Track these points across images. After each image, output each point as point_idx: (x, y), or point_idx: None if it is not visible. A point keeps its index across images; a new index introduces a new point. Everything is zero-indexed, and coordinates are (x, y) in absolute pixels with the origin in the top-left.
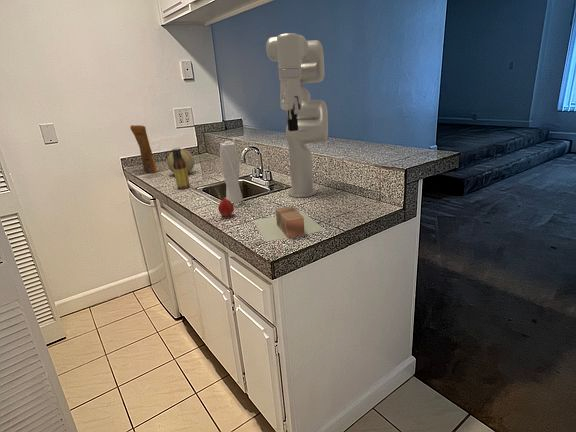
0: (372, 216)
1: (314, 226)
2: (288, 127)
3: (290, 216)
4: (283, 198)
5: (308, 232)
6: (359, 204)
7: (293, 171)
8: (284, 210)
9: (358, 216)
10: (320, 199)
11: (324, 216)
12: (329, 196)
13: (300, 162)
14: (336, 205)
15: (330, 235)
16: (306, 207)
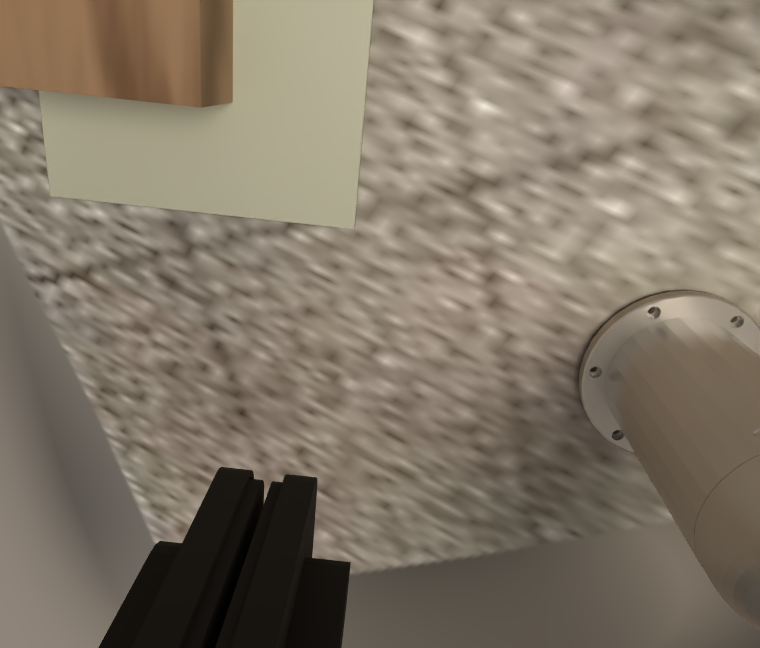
0: (146, 466)
1: (118, 177)
2: (273, 515)
3: (13, 10)
4: (670, 234)
5: (54, 112)
6: None
7: (736, 392)
8: (138, 21)
9: (172, 421)
10: (497, 402)
11: (247, 295)
12: (510, 460)
13: (711, 476)
14: (361, 419)
15: (5, 199)
16: (425, 280)
